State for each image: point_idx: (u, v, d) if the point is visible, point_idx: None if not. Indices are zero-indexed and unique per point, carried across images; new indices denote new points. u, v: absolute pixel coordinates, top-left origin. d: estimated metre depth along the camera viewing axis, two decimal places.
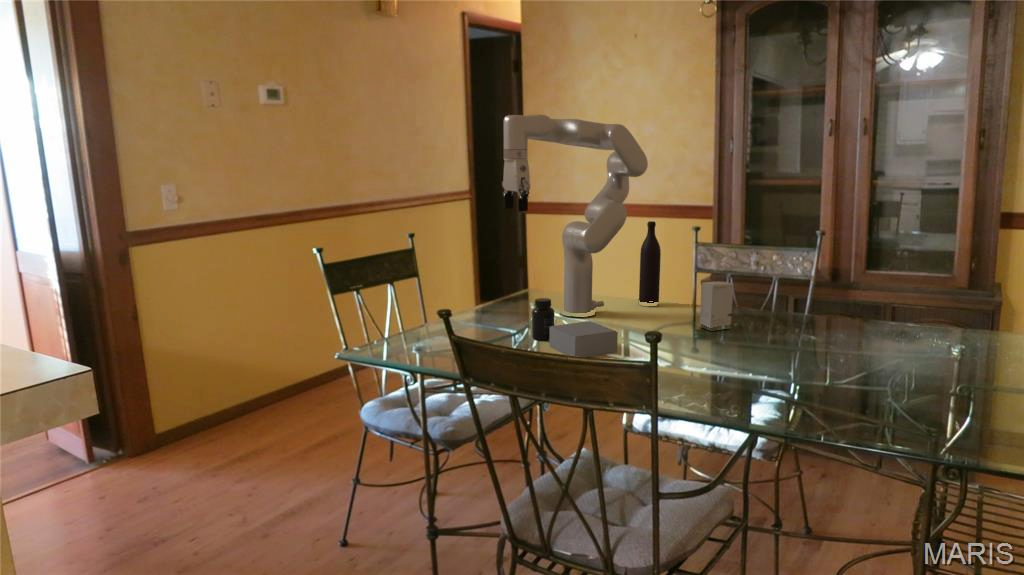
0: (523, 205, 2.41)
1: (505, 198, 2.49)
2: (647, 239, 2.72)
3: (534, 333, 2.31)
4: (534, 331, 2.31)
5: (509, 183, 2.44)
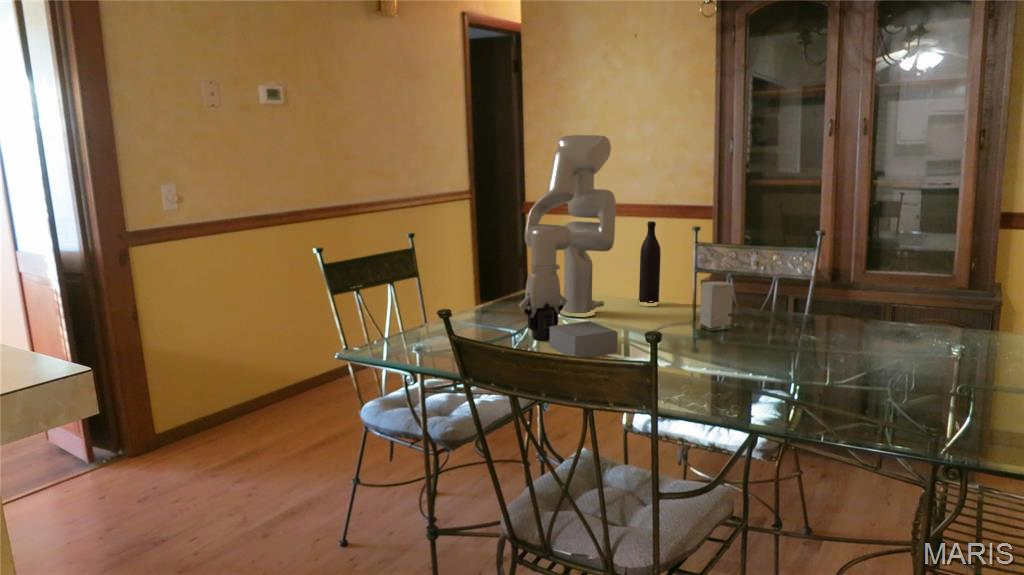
0: None
1: (535, 319, 2.30)
2: (647, 239, 2.72)
3: (534, 333, 2.31)
4: (534, 331, 2.31)
5: (547, 300, 2.29)
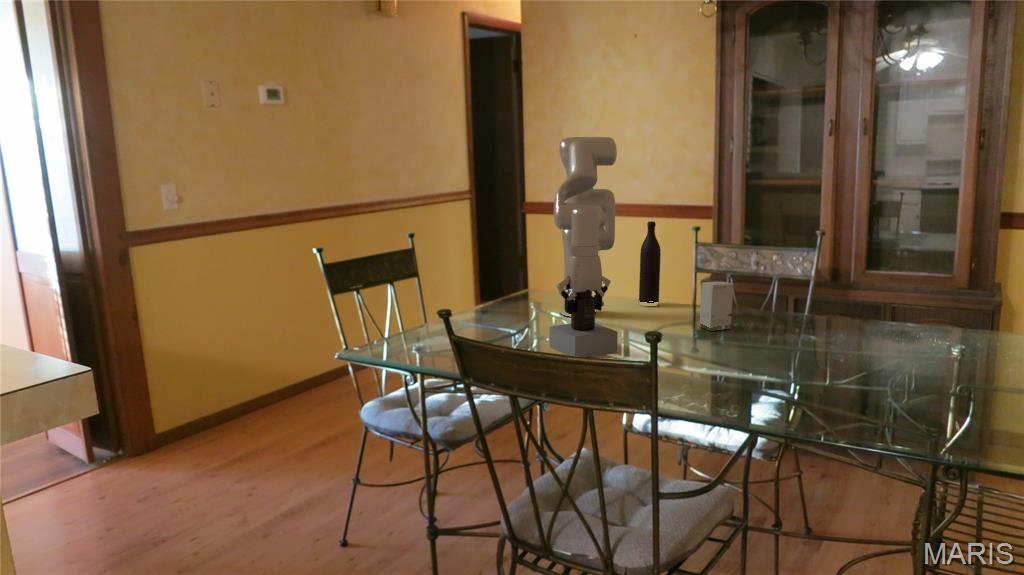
0: None
1: (572, 302, 2.15)
2: (647, 239, 2.72)
3: (574, 322, 2.18)
4: (574, 320, 2.18)
5: (588, 283, 2.16)
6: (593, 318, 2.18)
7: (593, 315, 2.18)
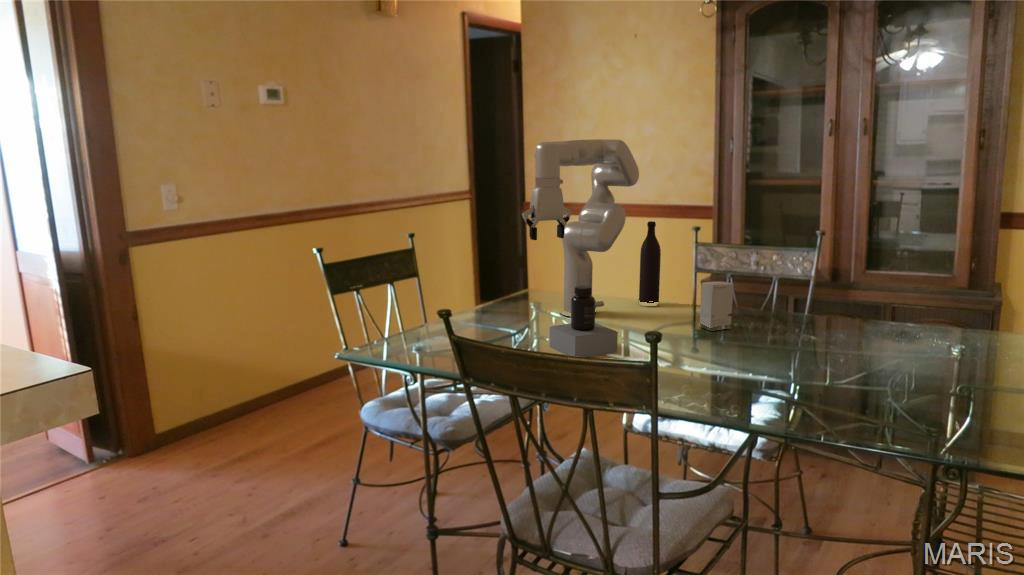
0: None
1: (536, 229, 2.38)
2: (647, 239, 2.72)
3: (574, 323, 2.18)
4: (574, 320, 2.18)
5: (551, 212, 2.38)
6: (593, 318, 2.18)
7: (593, 315, 2.18)
